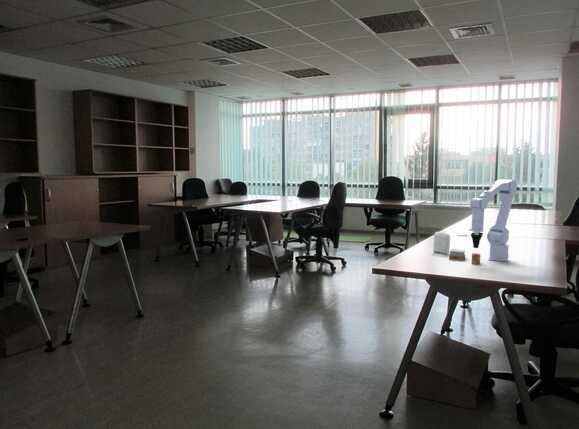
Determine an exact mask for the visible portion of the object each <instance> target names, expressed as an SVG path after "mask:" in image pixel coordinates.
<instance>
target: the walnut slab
mask: <svg viewBox="0 0 579 429" xmlns="http://www.w3.org/2000/svg"><path fill="white" fill-rule="evenodd" d="M448 256H449V257H448V260H454V259H457V261H458V260H459V261H465V260H466V256H467V255H466V254H465V253H464V256H463V257H461V256H450V254H448Z"/></svg>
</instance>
